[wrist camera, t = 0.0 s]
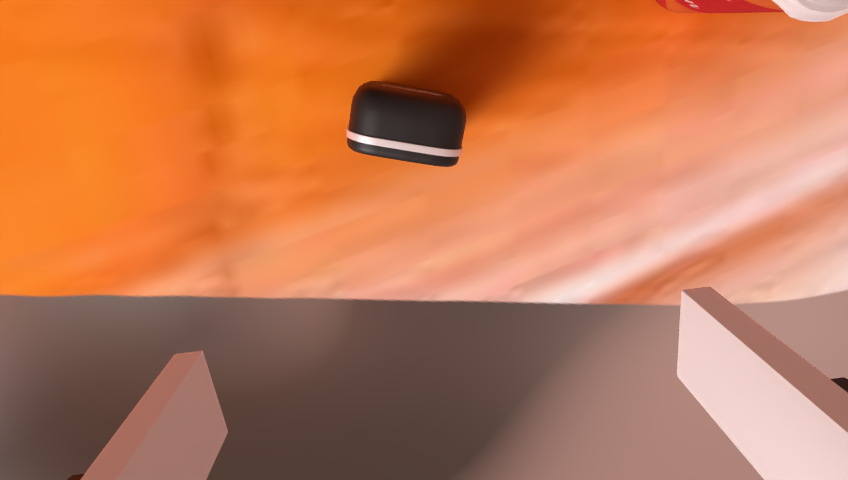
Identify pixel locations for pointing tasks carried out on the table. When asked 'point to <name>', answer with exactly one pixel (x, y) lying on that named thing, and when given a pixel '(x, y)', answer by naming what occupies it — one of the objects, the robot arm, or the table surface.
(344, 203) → the table surface
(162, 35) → the table surface
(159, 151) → the table surface
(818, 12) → the coffee cup
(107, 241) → the table surface
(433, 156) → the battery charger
